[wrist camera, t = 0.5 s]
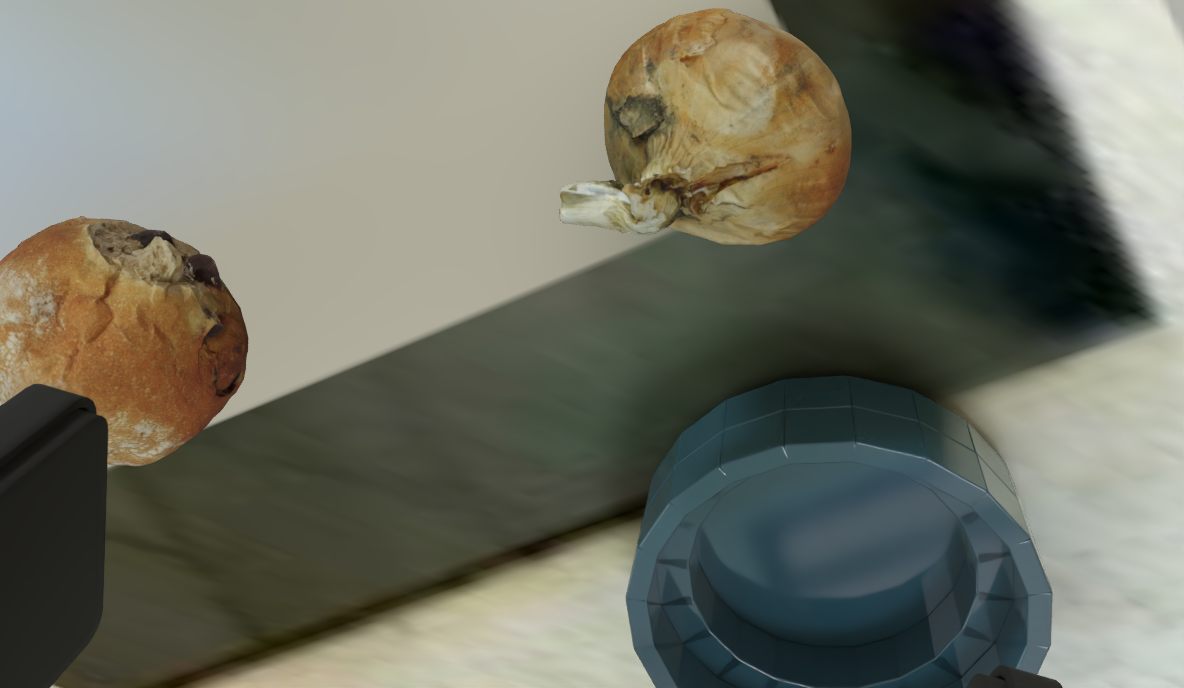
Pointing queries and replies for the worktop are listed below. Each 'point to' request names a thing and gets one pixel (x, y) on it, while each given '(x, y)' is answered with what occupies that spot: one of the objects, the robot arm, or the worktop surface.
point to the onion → (718, 135)
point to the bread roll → (122, 331)
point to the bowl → (835, 547)
